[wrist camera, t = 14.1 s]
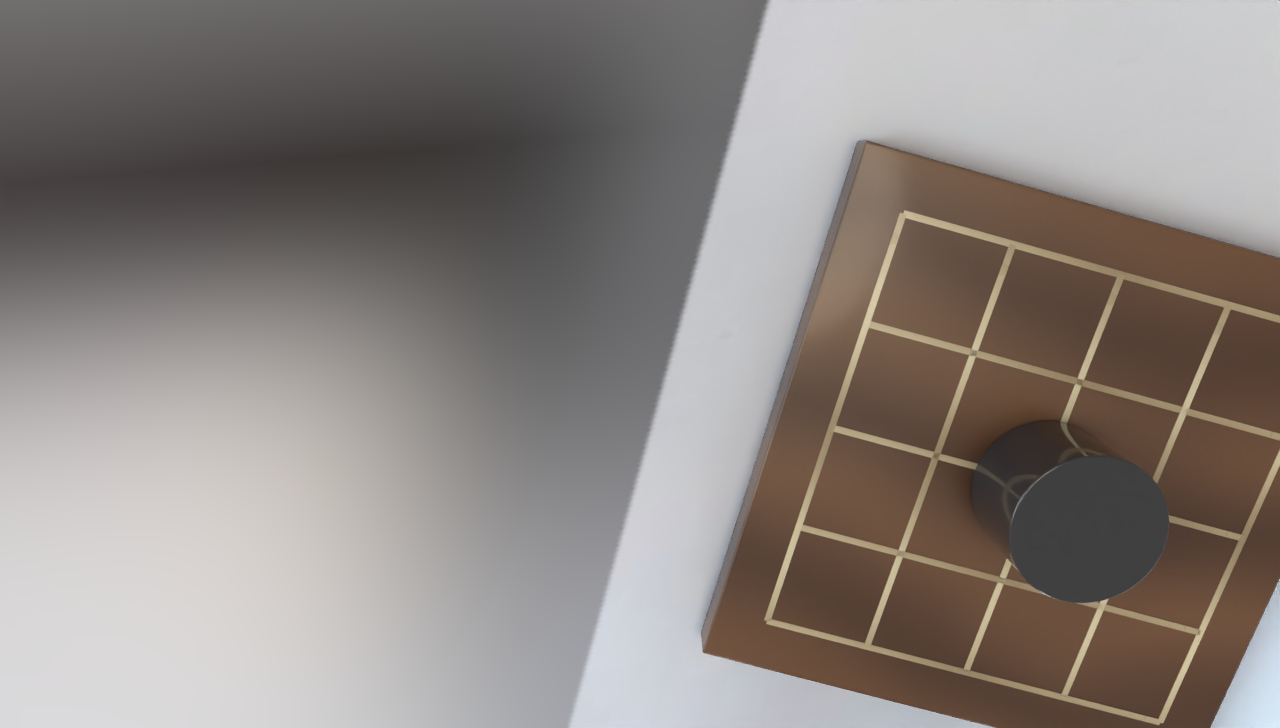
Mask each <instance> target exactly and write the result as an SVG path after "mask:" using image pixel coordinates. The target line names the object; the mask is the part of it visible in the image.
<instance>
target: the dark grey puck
mask: <svg viewBox="0 0 1280 728" xmlns="http://www.w3.org/2000/svg"><path fill="white" fill-rule="evenodd" d="M971 503H972V508H973V512H974V515H975V517H976V519H977V521H978V523H979V525H980V526H981V528H982V529H983V530H984V532H985V533H986V534H987V535H988V536H989V537H990V539H991V540H992V541H993V542H994V543H995V545H996V546H997V547H998V548H999V549H1000V551H1001V552H1002V553H1003V554H1004V555H1005V556H1006V558H1007V559H1008V560H1009V561H1010V562H1011V564H1012V565H1013V566H1014V567H1015V568H1016V569H1017V571H1018V572H1019V573H1020V574H1021V575H1022V577H1023V578H1024V579H1025V580H1026V581H1027V582H1028V583H1029V584H1030V585H1031V586H1032V587H1034V588H1035V589H1036V590H1038V591H1039V592H1041V593H1042V594H1044V595H1047V596H1049V597H1051V598H1054V599H1057V600H1060V601H1065V602H1070V603H1093V602H1098V601H1103V600H1106V599H1110V598H1113V597H1115V596H1117V595H1120V594H1122V593H1124V592H1126V591H1127V590H1129V589H1131V588H1132V587H1134V586H1135V585H1136V584H1138V583H1139V582H1140V581H1141V580H1142V579H1143V578H1144V577H1145V576H1147V575H1148V573H1149V572H1150V571H1151V570H1152V569H1153V567H1154V566H1155V564H1156V563H1157V561H1158V560H1159V558H1160V556H1161V554H1162V552H1163V550H1164V547H1165V544H1166V541H1167V537H1168V532H1169V512H1168V508H1167V503H1166V500H1165V498H1164V495H1163V493H1162V491H1161V489H1160V488H1159V486H1158V484H1157V483H1156V482H1155V481H1154V480H1153V478H1152V477H1151V476H1150V475H1149V474H1147V473H1146V472H1145V471H1144V470H1143V469H1141V468H1140V467H1138V466H1137V465H1135V464H1134V463H1132V462H1131V461H1129V460H1128V459H1126V458H1125V457H1123V456H1122V455H1121V454H1119V453H1118V452H1116V451H1115V450H1113V449H1112V448H1110V447H1109V446H1107V445H1106V444H1104V443H1103V442H1101V441H1100V440H1098V439H1097V438H1095V437H1094V436H1092V435H1091V434H1089V433H1088V432H1086V431H1085V430H1083V429H1081V428H1079V427H1077V426H1075V425H1072V424H1069V423H1066V422H1060V421H1049V420H1048V421H1037V422H1031V423H1027V424H1024V425H1021V426H1019V427H1016V428H1014V429H1012V430H1010V431H1008V432H1007V433H1005V434H1004V435H1002V436H1001V437H1000V438H998V439H997V440H996V441H995V442H994V443H993V444H992V445H991V446H990V447H989V448H988V449H987V450H986V452H985V453H984V454H983V456H982V457H981V459H980V461H979V462H978V464H977V467H976V469H975V471H974V475H973V478H972V484H971Z"/></svg>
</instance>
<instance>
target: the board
mask: <svg viewBox="0 0 1280 728" xmlns="http://www.w3.org/2000/svg"><path fill="white" fill-rule="evenodd" d="M1048 420H1049V421H1060V422H1066V423H1069V424H1072V425H1075V426H1077V427H1079V428H1081V429H1083V430H1085V431H1086V432H1088V433H1089V434H1091V435H1092V436H1094V437H1095V438H1097V439H1098V440H1100V441H1101V442H1103V443H1104V444H1106V445H1107V446H1109V447H1110V448H1112V449H1113V450H1115V451H1116V452H1118V453H1119V454H1121V455H1122V456H1123V457H1125V458H1126V459H1128V460H1129V461H1131V462H1132V463H1134V464H1135V465H1137V466H1138V467H1140V468H1141V469H1143V470H1144V471H1145V472H1146V473H1147V474H1149V475H1150V476H1151V477H1152V478H1153V480H1154V481H1155V482H1156V483H1157V484H1158V486H1159V488H1160V489H1161V491H1162V493H1163V495H1164V498H1165V500H1166V503H1167V508H1168V512H1169V532H1168V537H1167V541H1166V544H1165V547H1164V550H1163V552H1162V554H1161V556H1160V558H1159V560H1158V561H1157V563H1156V564H1155V566H1154V567H1153V569H1152V570H1151V571H1150V572H1149V573H1148V575H1147V576H1145V577H1144V578H1143V579H1142V580H1141V581H1140V582H1139V583H1138V584H1136V585H1135V586H1134V587H1132V588H1131V589H1129V590H1127V591H1126V592H1124V593H1122V594H1120V595H1117V596H1115V597H1113V598H1110V599H1106V600H1103V601H1098V602H1093V603H1070V602H1065V601H1060V600H1057V599H1054V598H1051V597H1049V596H1047V595H1044V594H1042V593H1041V592H1039V591H1038V590H1036V589H1035V588H1034V587H1032V586H1031V585H1030V584H1029V583H1028V582H1027V581H1026V580H1025V579H1024V578H1023V577H1022V575H1021V574H1020V573H1019V572H1018V571H1017V569H1016V568H1015V567H1014V566H1013V565H1012V564H1011V562H1010V561H1009V560H1008V559H1007V558H1006V556H1005V555H1004V554H1003V553H1002V552H1001V551H1000V549H999V548H998V547H997V546H996V545H995V543H994V542H993V541H992V540H991V539H990V537H989V536H988V535H987V534H986V533H985V532H984V530H983V529H982V528H981V526H980V525H979V523H978V521H977V519H976V517H975V515H974V512H973V508H972V503H971V484H972V478H973V475H974V471H975V469H976V467H977V464H978V462H979V461H980V459H981V457H982V456H983V454H984V453H985V452H986V450H987V449H988V448H989V447H990V446H991V445H992V444H993V443H994V442H995V441H996V440H997V439H998V438H1000V437H1001V436H1002V435H1004V434H1005V433H1007V432H1008V431H1010V430H1012V429H1014V428H1016V427H1019V426H1021V425H1024V424H1027V423H1031V422H1037V421H1048ZM1279 579H1280V258H1278V257H1274V256H1271V255H1267V254H1264V253H1260V252H1257V251H1253V250H1250V249H1246V248H1242V247H1239V246H1235V245H1232V244H1228V243H1225V242H1221V241H1218V240H1214V239H1211V238H1207V237H1204V236H1200V235H1197V234H1193V233H1190V232H1186V231H1183V230H1179V229H1176V228H1172V227H1169V226H1165V225H1162V224H1158V223H1155V222H1151V221H1148V220H1144V219H1140V218H1137V217H1133V216H1130V215H1126V214H1123V213H1119V212H1116V211H1112V210H1109V209H1105V208H1102V207H1098V206H1095V205H1091V204H1088V203H1084V202H1081V201H1077V200H1074V199H1070V198H1067V197H1063V196H1060V195H1056V194H1053V193H1049V192H1045V191H1042V190H1038V189H1035V188H1031V187H1028V186H1024V185H1021V184H1017V183H1014V182H1010V181H1007V180H1003V179H1000V178H996V177H993V176H989V175H986V174H982V173H979V172H975V171H972V170H968V169H965V168H961V167H958V166H954V165H951V164H947V163H943V162H940V161H936V160H933V159H929V158H926V157H922V156H919V155H915V154H912V153H908V152H905V151H901V150H898V149H894V148H891V147H887V146H884V145H880V144H877V143H873V142H870V141H858V142H857V144H856V147H855V151H854V154H853V157H852V160H851V163H850V166H849V169H848V173H847V176H846V179H845V182H844V185H843V188H842V191H841V195H840V198H839V201H838V204H837V207H836V210H835V213H834V217H833V220H832V223H831V226H830V229H829V232H828V235H827V239H826V242H825V245H824V248H823V251H822V254H821V258H820V261H819V264H818V267H817V270H816V273H815V276H814V280H813V283H812V286H811V289H810V292H809V295H808V298H807V302H806V305H805V308H804V311H803V314H802V317H801V320H800V324H799V327H798V330H797V333H796V336H795V339H794V342H793V346H792V349H791V352H790V355H789V358H788V361H787V364H786V368H785V371H784V374H783V377H782V380H781V383H780V387H779V390H778V393H777V396H776V399H775V402H774V405H773V409H772V412H771V415H770V418H769V421H768V424H767V427H766V431H765V434H764V437H763V440H762V443H761V446H760V449H759V453H758V456H757V459H756V462H755V465H754V468H753V471H752V475H751V478H750V481H749V484H748V487H747V490H746V494H745V497H744V500H743V503H742V506H741V509H740V512H739V516H738V519H737V522H736V525H735V528H734V531H733V534H732V538H731V541H730V544H729V547H728V550H727V553H726V556H725V560H724V563H723V566H722V569H721V572H720V575H719V578H718V582H717V585H716V588H715V591H714V594H713V597H712V600H711V604H710V607H709V610H708V613H707V616H706V619H705V623H704V626H703V629H702V632H701V637H702V648H703V653H706V654H710V655H713V656H717V657H721V658H725V659H729V660H733V661H737V662H741V663H745V664H749V665H753V666H756V667H760V668H764V669H768V670H772V671H776V672H780V673H784V674H788V675H792V676H796V677H799V678H803V679H807V680H811V681H815V682H819V683H823V684H827V685H831V686H835V687H839V688H842V689H846V690H850V691H854V692H858V693H862V694H866V695H870V696H874V697H878V698H882V699H885V700H889V701H893V702H897V703H901V704H905V705H909V706H913V707H917V708H921V709H925V710H928V711H932V712H936V713H940V714H944V715H948V716H952V717H956V718H960V719H964V720H967V721H971V722H975V723H979V724H983V725H987V726H991V727H995V728H1210V727H1211V725H1212V723H1213V720H1214V718H1215V716H1216V714H1217V712H1218V710H1219V708H1220V705H1221V703H1222V701H1223V699H1224V697H1225V695H1226V693H1227V690H1228V688H1229V686H1230V684H1231V682H1232V680H1233V678H1234V675H1235V673H1236V671H1237V669H1238V667H1239V665H1240V662H1241V660H1242V658H1243V656H1244V654H1245V652H1246V650H1247V647H1248V645H1249V643H1250V641H1251V639H1252V637H1253V635H1254V632H1255V630H1256V628H1257V626H1258V624H1259V622H1260V620H1261V617H1262V615H1263V613H1264V611H1265V609H1266V607H1267V604H1268V602H1269V600H1270V598H1271V596H1272V594H1273V592H1274V589H1275V587H1276V585H1277V583H1278V581H1279Z"/></svg>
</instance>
